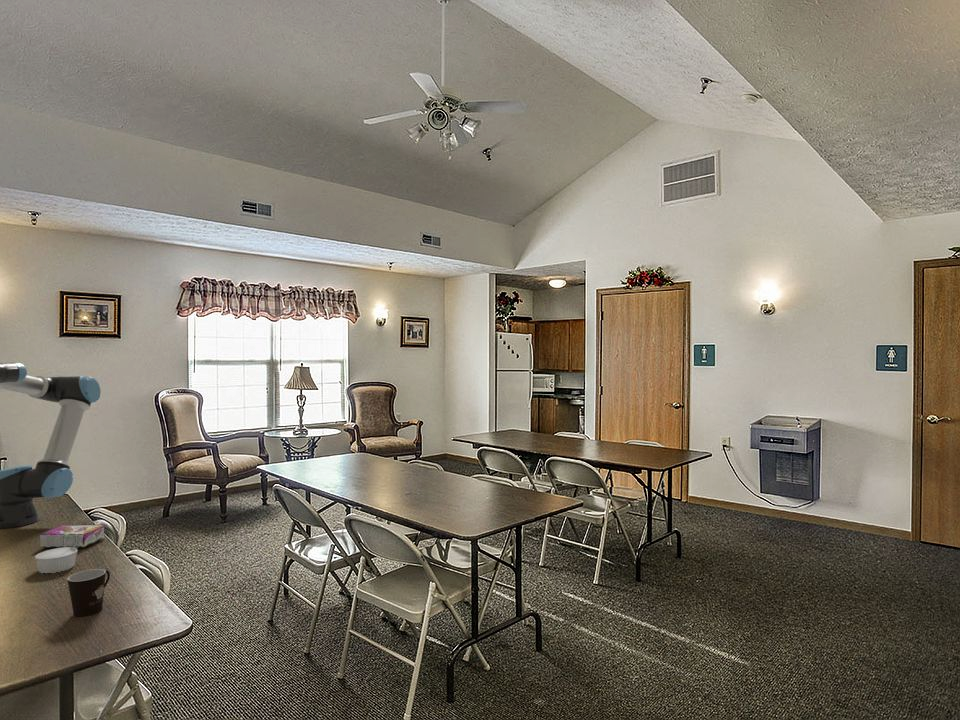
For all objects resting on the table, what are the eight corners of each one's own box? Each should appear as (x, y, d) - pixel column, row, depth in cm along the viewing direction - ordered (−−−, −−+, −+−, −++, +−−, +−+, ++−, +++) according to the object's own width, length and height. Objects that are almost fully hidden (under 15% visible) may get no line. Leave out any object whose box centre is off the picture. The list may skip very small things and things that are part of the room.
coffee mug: (78, 622, 152) (76, 583, 152) (62, 614, 157) (61, 577, 157) (124, 604, 162) (123, 569, 162) (108, 598, 167) (107, 563, 167)
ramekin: (81, 568, 191) (81, 552, 191) (39, 578, 183) (39, 561, 183) (73, 560, 199) (72, 544, 198) (32, 569, 190) (31, 553, 190)
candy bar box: (62, 524, 220) (105, 524, 220) (62, 537, 220) (105, 537, 220) (38, 533, 209) (83, 533, 209) (39, 547, 209) (84, 548, 209)
